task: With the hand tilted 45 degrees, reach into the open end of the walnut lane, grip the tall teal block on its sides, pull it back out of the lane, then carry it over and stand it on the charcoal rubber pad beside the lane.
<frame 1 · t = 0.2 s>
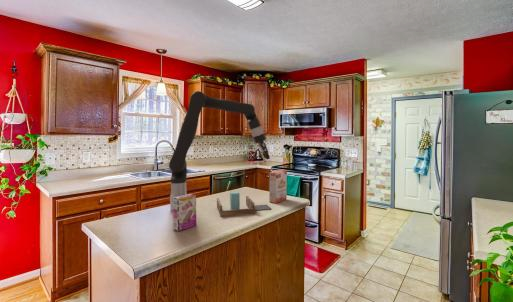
hand: (267, 158, 171), 31 cm above the countertop, tool tilted 20°, fingers open, 8 cm apart
lane: (235, 210, 165), on the countertop
pad: (261, 207, 169), on the countertop
teal block: (235, 210, 165), on the countertop
cracker box: (278, 201, 186), on the countertop
candy bar box: (185, 228, 136), on the countertop
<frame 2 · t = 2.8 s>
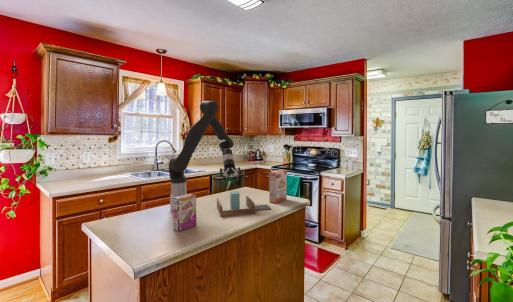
hand: (231, 181, 175), 16 cm above the countertop, tool tilted 45°, fingers open, 8 cm apart
nothing on the countertop moved.
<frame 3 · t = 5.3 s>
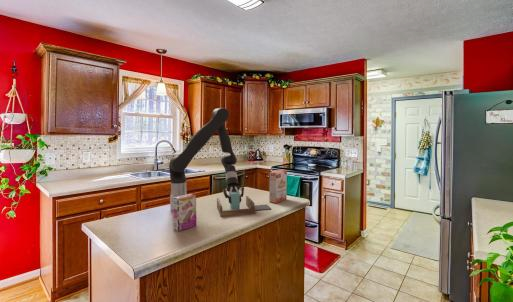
hand: (235, 202, 163), 5 cm above the countertop, tool tilted 45°, fingers closed on teal block, 5 cm apart
teal block: (235, 210, 165), on the countertop, touching gripper
everything else where it was.
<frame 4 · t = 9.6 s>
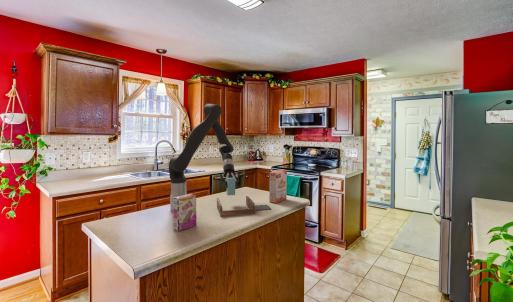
hand: (231, 187, 175), 12 cm above the countertop, tool tilted 45°, fingers closed on teal block, 5 cm apart
teal block: (230, 194, 177), point 7 cm above the countertop, touching gripper
everything else where it was.
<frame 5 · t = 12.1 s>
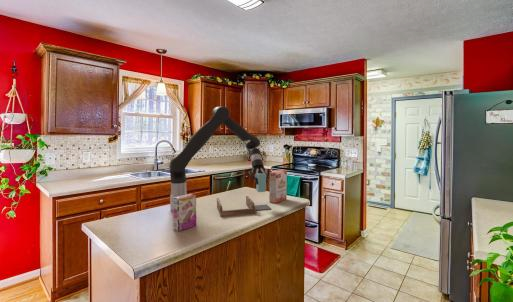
hand: (261, 183, 166), 16 cm above the countertop, tool tilted 45°, fingers closed on teal block, 5 cm apart
teal block: (261, 191, 169), point 11 cm above the countertop, touching gripper
everything else where it was.
when the fingers open (7 cm above the countertop, at t = 14.0 s): teal block drops 1 cm, resting on pad.
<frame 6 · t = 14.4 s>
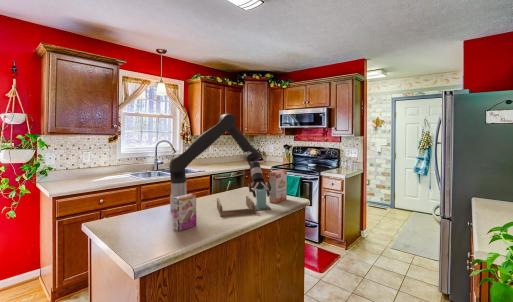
hand: (261, 196, 168), 8 cm above the countertop, tool tilted 45°, fingers open, 8 cm apart
teal block: (261, 207, 170), resting on pad
everything else where it was.
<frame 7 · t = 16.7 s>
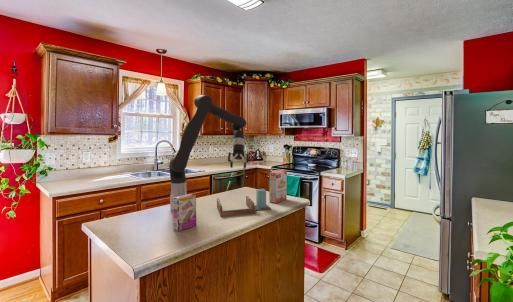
hand: (238, 168, 180), 24 cm above the countertop, tool tilted 25°, fingers open, 8 cm apart
nothing on the countertop moved.
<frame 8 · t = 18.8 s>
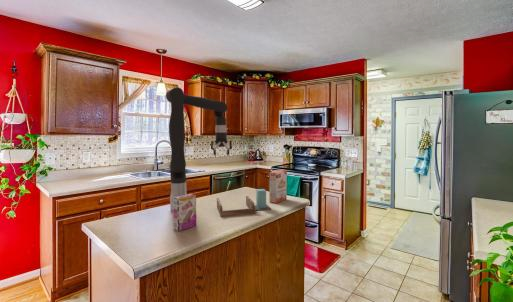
hand: (221, 155, 183), 32 cm above the countertop, tool pointing down, fingers open, 8 cm apart
nothing on the countertop moved.
at the end: teal block 0.2 cm from the pad (horizontally); teal block tilted 0°; the gripper is holding nothing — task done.
